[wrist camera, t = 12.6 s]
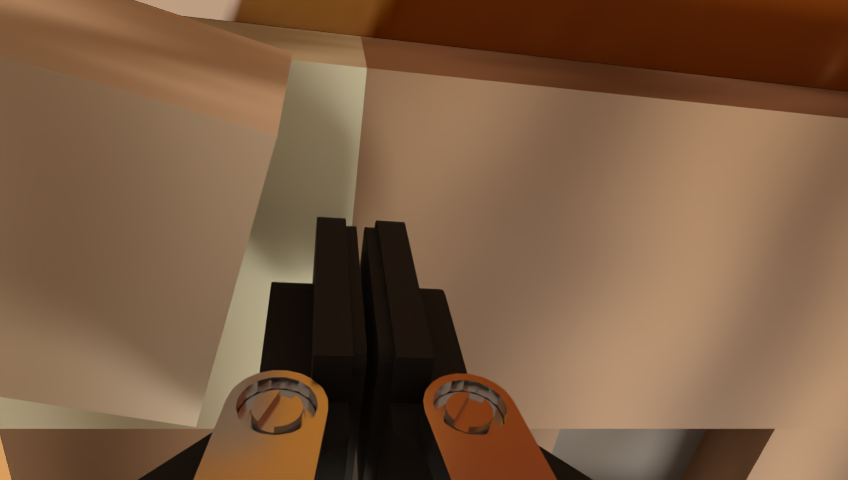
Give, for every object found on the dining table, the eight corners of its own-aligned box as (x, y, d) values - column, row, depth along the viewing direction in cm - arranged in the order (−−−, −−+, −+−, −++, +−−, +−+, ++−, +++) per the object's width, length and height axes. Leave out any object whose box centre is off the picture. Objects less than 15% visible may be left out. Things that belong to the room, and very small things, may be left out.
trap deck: (1168, 128, 18) (1284, 164, 16) (885, 506, 25) (937, 565, 23) (-32, -9, 12) (-109, 18, 10) (75, 528, 20) (45, 608, 18)
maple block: (292, 52, 11) (277, 135, 8) (229, 282, 13) (196, 427, 10) (-33, -56, 10) (-231, -13, 6) (-44, 222, 12) (-195, 367, 8)
